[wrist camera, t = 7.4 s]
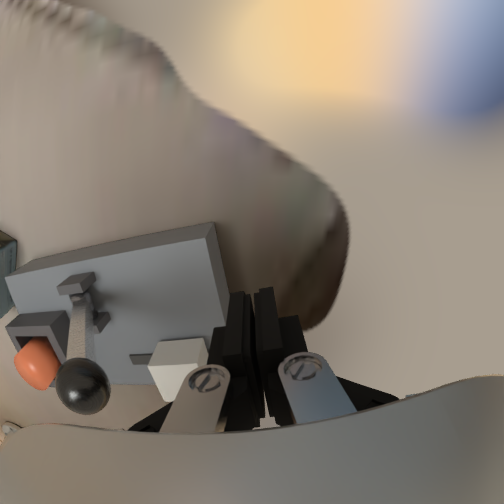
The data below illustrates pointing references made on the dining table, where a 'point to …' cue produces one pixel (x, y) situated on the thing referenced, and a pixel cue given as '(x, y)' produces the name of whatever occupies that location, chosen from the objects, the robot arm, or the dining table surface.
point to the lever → (82, 362)
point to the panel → (126, 297)
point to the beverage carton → (6, 271)
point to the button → (37, 362)
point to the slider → (176, 364)
